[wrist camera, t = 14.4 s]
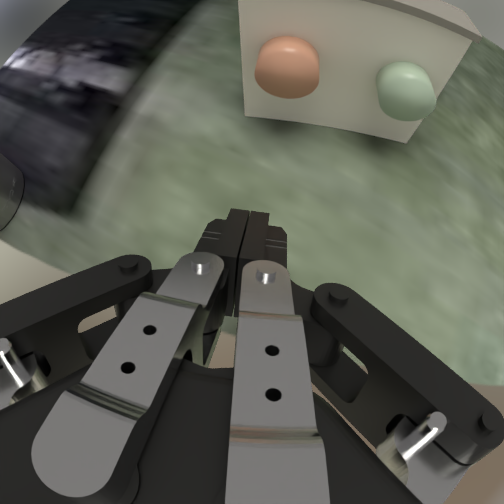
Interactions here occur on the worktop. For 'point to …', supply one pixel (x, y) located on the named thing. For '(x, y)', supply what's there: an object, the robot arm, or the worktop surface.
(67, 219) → the worktop surface
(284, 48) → the terracotta button
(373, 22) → the panel
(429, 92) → the sage button
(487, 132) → the worktop surface
